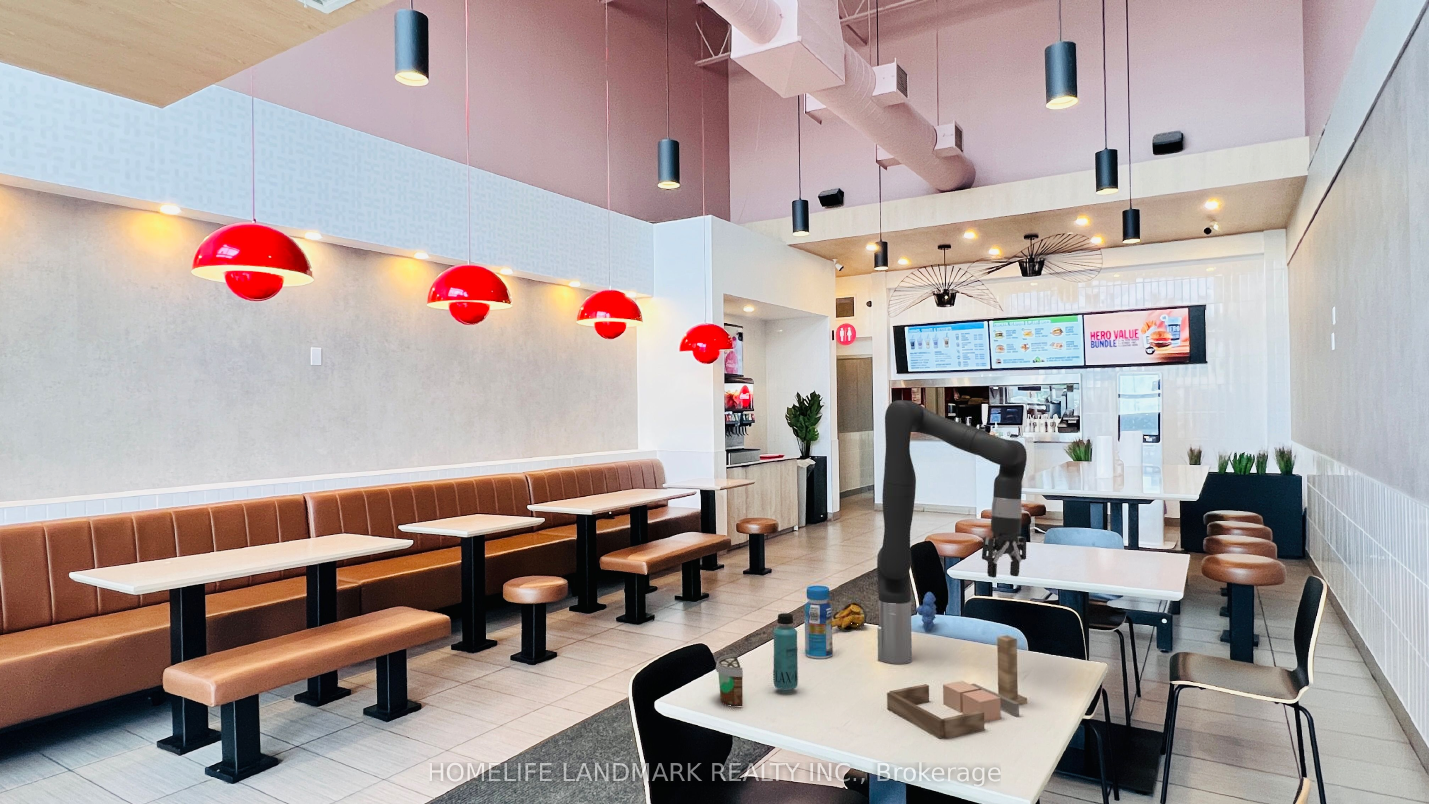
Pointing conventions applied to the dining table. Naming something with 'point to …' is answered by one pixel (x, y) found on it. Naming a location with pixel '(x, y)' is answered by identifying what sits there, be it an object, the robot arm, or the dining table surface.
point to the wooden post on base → (1007, 676)
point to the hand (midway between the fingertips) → (1003, 576)
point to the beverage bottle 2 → (818, 623)
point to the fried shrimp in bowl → (850, 617)
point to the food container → (730, 680)
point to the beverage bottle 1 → (785, 654)
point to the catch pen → (946, 728)
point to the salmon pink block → (982, 704)
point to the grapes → (927, 611)
